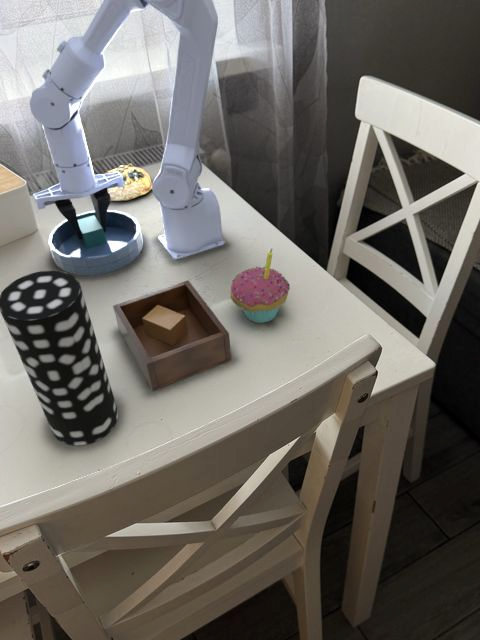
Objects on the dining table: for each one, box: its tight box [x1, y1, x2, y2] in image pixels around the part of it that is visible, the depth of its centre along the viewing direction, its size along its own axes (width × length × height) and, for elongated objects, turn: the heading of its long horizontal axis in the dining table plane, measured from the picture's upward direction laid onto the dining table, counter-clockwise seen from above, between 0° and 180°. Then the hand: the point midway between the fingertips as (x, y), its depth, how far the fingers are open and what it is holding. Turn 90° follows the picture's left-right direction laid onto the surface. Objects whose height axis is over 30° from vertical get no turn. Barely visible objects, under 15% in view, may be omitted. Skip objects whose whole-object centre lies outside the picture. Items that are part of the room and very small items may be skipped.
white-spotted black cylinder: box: [0, 270, 119, 446], centre depth 68 cm, size 8×8×20 cm
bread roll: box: [104, 163, 153, 202], centre depth 117 cm, size 11×11×5 cm
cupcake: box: [230, 247, 291, 324], centre depth 85 cm, size 9×8×12 cm
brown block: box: [142, 305, 188, 346], centre depth 85 cm, size 4×5×3 cm
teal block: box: [78, 215, 106, 249], centre depth 104 cm, size 4×5×3 cm
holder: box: [112, 279, 232, 392], centre depth 83 cm, size 12×14×5 cm
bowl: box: [47, 209, 144, 276], centre depth 102 cm, size 15×15×4 cm
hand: (91, 233), depth 104 cm, fingers closed on teal block, 3 cm apart
